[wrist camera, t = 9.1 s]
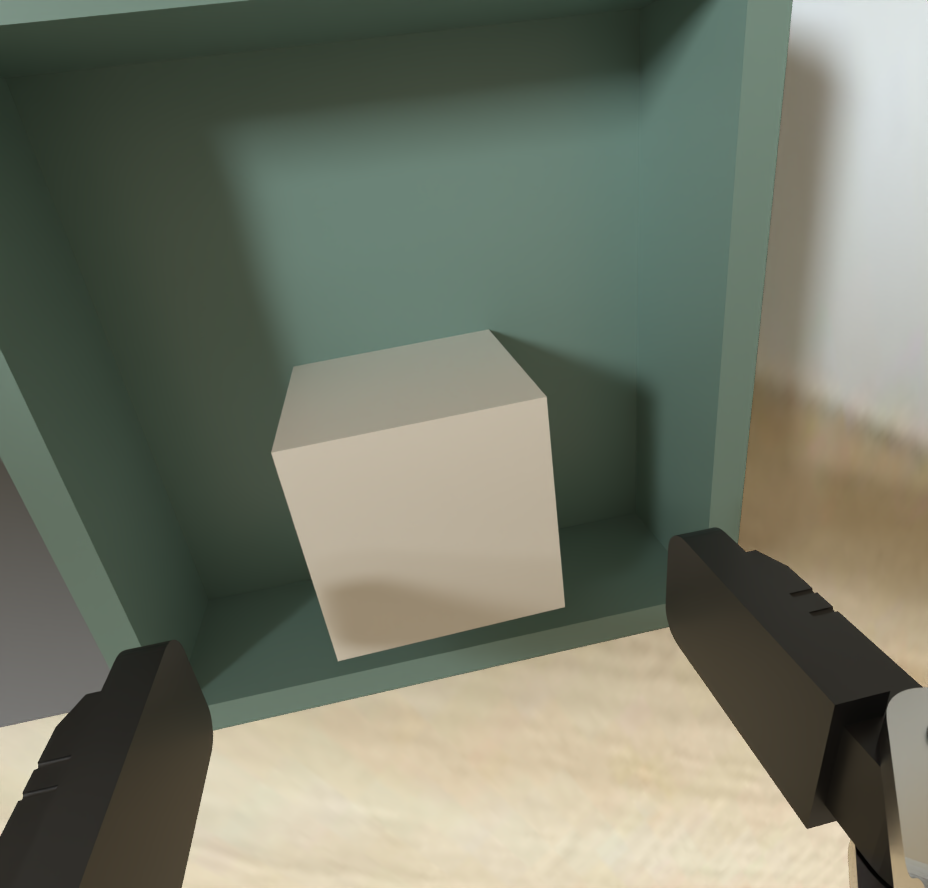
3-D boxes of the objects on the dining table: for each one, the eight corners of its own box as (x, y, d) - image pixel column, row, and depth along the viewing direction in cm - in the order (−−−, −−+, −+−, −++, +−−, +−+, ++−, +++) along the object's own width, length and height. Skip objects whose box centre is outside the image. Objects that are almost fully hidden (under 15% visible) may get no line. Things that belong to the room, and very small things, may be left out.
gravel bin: (196, 604, 18) (148, 744, 14) (-31, 43, 12) (-250, -27, 8) (645, 512, 20) (730, 612, 16) (655, -28, 14) (804, -121, 9)
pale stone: (339, 531, 17) (337, 661, 13) (293, 366, 15) (271, 452, 10) (509, 494, 18) (565, 607, 13) (488, 329, 15) (546, 396, 11)
